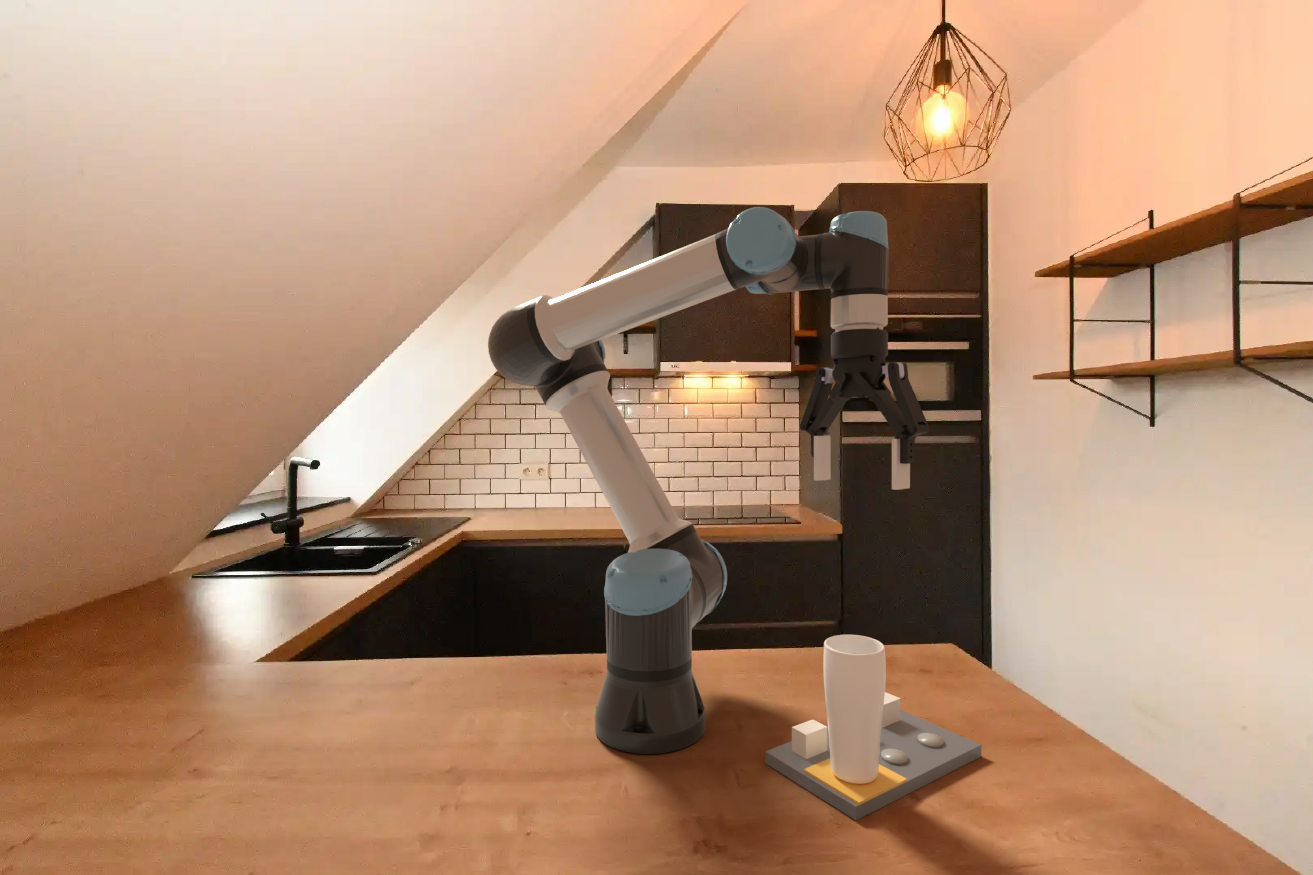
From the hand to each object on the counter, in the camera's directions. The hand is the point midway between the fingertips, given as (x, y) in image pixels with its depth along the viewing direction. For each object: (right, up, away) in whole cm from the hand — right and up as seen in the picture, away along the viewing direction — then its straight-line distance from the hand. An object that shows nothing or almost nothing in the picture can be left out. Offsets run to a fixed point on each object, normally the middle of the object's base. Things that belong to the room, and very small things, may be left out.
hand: (859, 484), depth 94 cm
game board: (-1, -33, -10) cm, 35 cm away
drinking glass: (-6, -32, -17) cm, 37 cm away
